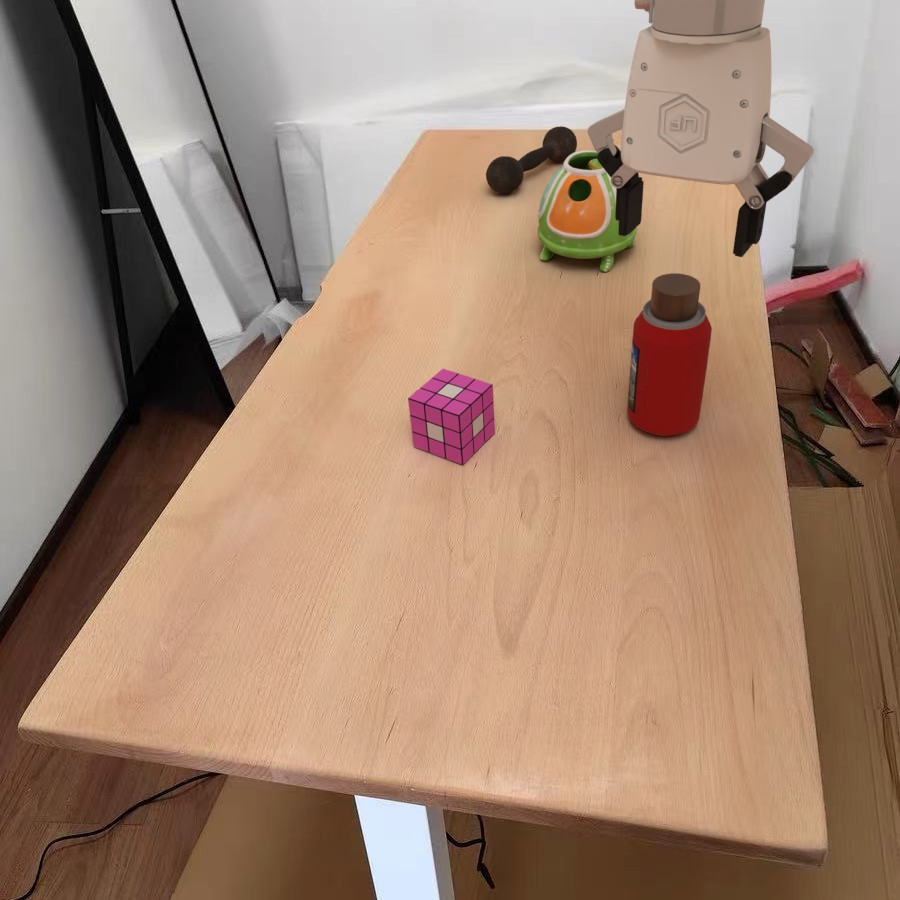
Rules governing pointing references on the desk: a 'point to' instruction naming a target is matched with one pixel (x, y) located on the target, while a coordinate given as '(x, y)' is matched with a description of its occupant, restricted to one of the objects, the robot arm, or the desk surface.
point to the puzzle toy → (452, 415)
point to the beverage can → (668, 372)
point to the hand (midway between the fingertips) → (684, 239)
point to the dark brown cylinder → (675, 297)
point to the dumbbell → (530, 160)
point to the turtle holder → (581, 213)
